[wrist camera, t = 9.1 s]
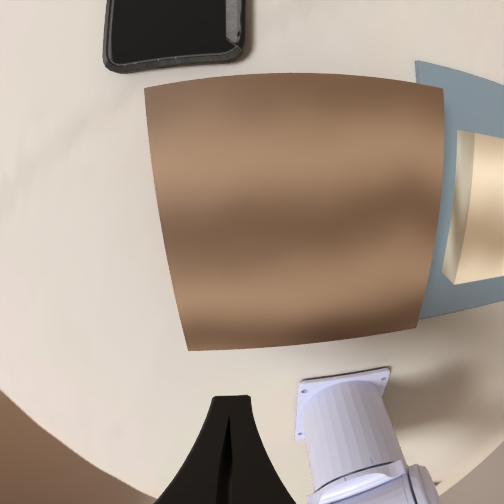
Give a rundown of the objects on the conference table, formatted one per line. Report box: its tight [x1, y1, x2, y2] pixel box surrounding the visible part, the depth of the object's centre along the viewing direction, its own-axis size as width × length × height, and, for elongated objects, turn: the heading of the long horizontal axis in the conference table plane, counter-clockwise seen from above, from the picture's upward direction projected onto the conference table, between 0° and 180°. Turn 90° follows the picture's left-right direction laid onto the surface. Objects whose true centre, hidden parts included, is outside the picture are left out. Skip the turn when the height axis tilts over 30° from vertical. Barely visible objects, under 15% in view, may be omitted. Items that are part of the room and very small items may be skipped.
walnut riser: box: [144, 73, 444, 351], centre depth 16 cm, size 14×14×4 cm
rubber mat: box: [415, 61, 504, 319], centre depth 17 cm, size 18×13×1 cm
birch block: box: [441, 130, 504, 285], centre depth 16 cm, size 10×6×2 cm, turn 4°
